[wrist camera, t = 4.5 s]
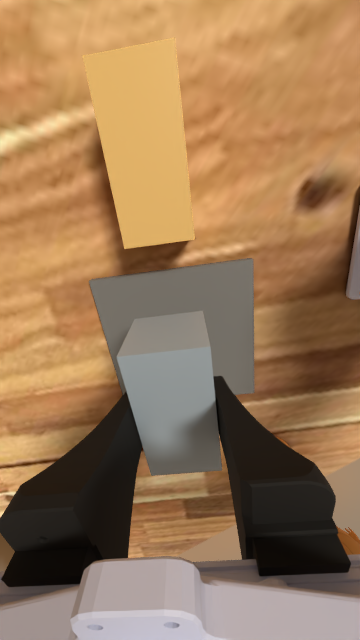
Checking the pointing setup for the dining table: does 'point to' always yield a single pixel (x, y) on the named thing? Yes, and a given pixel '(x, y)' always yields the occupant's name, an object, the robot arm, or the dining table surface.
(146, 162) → the ochre brick
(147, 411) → the slate brick
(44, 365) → the dining table surface
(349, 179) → the dining table surface
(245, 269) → the mat
